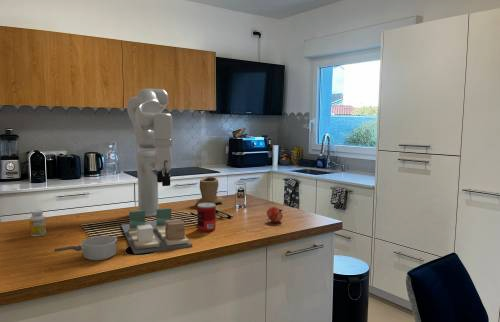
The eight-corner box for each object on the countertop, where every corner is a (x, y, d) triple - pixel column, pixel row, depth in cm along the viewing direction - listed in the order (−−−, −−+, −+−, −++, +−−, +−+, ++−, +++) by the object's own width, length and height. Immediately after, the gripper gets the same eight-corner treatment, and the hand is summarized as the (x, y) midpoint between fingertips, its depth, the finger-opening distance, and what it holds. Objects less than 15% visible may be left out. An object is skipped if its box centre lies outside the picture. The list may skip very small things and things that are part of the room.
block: (137, 238, 146) (136, 225, 146) (150, 237, 148) (150, 224, 148) (139, 242, 142) (139, 229, 141) (153, 241, 144) (153, 227, 143)
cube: (165, 235, 150) (165, 220, 150) (180, 234, 153) (180, 219, 152) (168, 240, 145) (168, 224, 144) (184, 238, 147) (184, 223, 147)
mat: (121, 226, 170) (121, 224, 170) (169, 221, 179) (169, 219, 179) (134, 254, 137) (134, 251, 137) (192, 246, 146) (192, 244, 146)
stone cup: (202, 207, 208) (202, 179, 206) (194, 202, 219) (194, 176, 217) (227, 204, 215) (228, 177, 214) (219, 200, 226) (219, 174, 224)
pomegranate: (265, 227, 180) (279, 217, 174) (258, 213, 183) (273, 203, 177) (275, 226, 186) (289, 216, 180) (268, 212, 188) (283, 202, 183)
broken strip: (127, 230, 160) (126, 211, 159) (146, 228, 164) (146, 209, 163) (136, 249, 138) (136, 227, 137) (159, 246, 142) (159, 225, 141)
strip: (154, 227, 165) (153, 209, 164) (172, 225, 168) (172, 207, 167) (167, 245, 143) (167, 224, 142) (188, 242, 146) (188, 222, 145)
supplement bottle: (31, 233, 159) (30, 209, 158) (46, 232, 161) (45, 209, 160) (29, 237, 154) (28, 213, 153) (44, 235, 156) (43, 212, 155)
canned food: (218, 227, 171) (218, 203, 169) (211, 233, 163) (211, 207, 162) (201, 226, 173) (201, 201, 172) (194, 231, 165) (194, 205, 164)
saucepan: (50, 260, 130) (50, 244, 130) (110, 248, 143) (109, 233, 143) (60, 271, 122) (59, 254, 121) (122, 257, 135) (122, 241, 134)
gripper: (150, 142, 168) (150, 181, 170) (158, 144, 152) (158, 188, 154) (167, 141, 171) (167, 180, 173) (177, 144, 155) (177, 186, 157)
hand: (163, 183), depth 164 cm, fingers open, 9 cm apart
